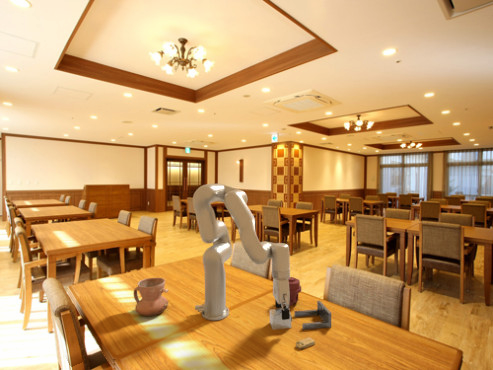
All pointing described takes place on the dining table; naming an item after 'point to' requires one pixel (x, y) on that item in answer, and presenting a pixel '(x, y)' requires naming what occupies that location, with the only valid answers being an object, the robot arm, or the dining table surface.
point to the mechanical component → (294, 290)
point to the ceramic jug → (151, 296)
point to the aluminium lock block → (279, 319)
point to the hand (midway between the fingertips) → (282, 313)
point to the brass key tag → (305, 343)
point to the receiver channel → (320, 311)
